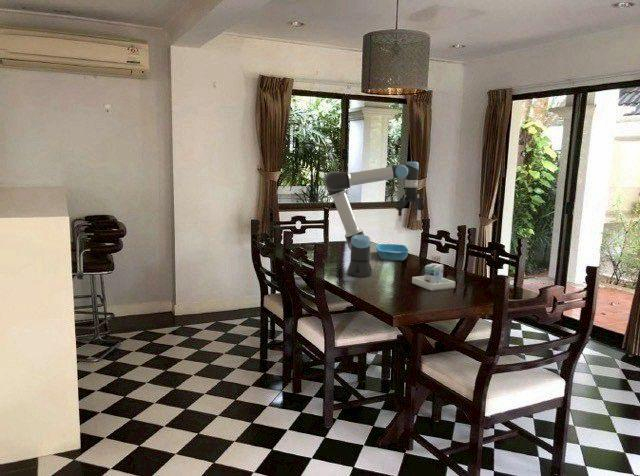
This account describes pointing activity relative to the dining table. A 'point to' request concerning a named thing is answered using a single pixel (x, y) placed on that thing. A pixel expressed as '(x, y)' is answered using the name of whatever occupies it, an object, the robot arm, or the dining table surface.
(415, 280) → the tray
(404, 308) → the dining table surface
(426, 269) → the light bulb box
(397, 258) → the casserole dish
